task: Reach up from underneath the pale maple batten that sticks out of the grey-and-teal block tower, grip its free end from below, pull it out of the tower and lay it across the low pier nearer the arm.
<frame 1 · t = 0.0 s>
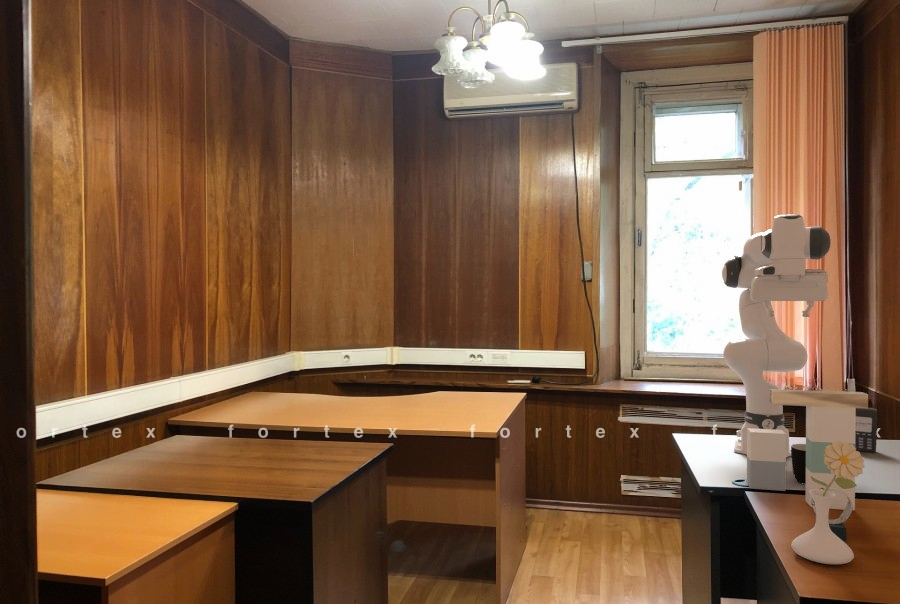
hand: (788, 316, 188), 48 cm above the table, tool pointing down, fingers open, 8 cm apart
watch: (831, 536, 147), on the table
batten: (817, 405, 167), point 26 cm above the table, touching tower
flower in vase: (826, 559, 134), on the table
tower: (829, 505, 167), on the table
mug: (805, 481, 189), on the table
card reader: (860, 451, 222), on the table
pier: (765, 487, 183), on the table
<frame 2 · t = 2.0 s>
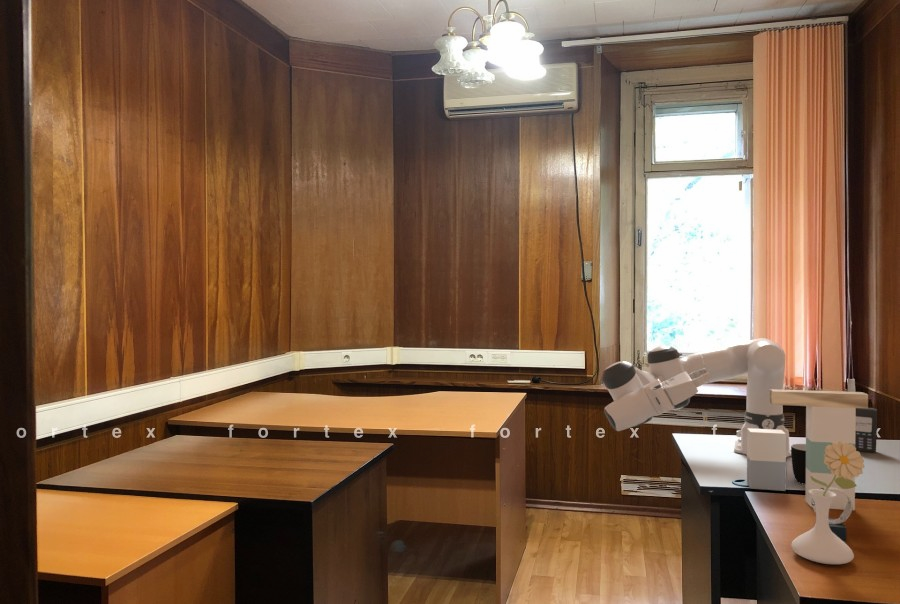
hand: (708, 373, 174), 34 cm above the table, tool pointing upward, fingers open, 8 cm apart
nothing on the table moved.
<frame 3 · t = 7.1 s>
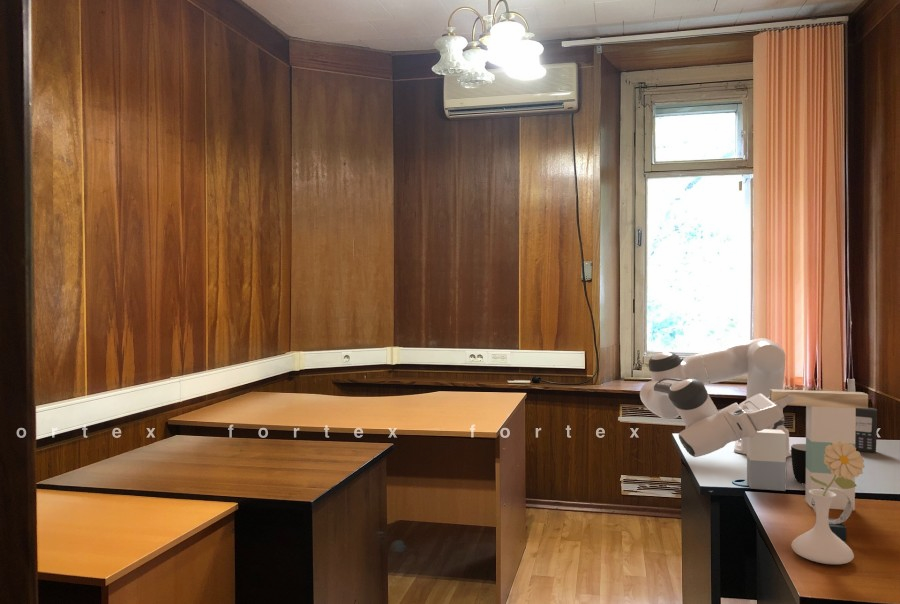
hand: (789, 395, 169), 28 cm above the table, tool pointing upward, fingers closed on batten, 3 cm apart
batten: (817, 405, 167), point 26 cm above the table, touching gripper, tower
everything else where it was.
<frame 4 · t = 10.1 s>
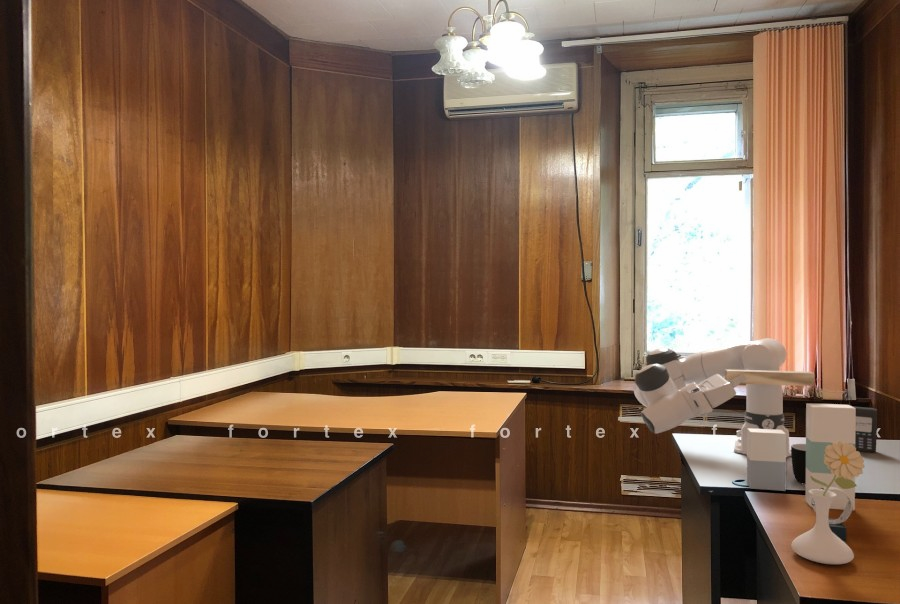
hand: (742, 375, 180), 32 cm above the table, tool pointing upward, fingers closed on batten, 3 cm apart
batten: (768, 383, 179), point 30 cm above the table, touching gripper
everything else where it was.
when the fingers open (19 cm above the table, at t = 13.3 s): batten stays where it is, resting on pier.
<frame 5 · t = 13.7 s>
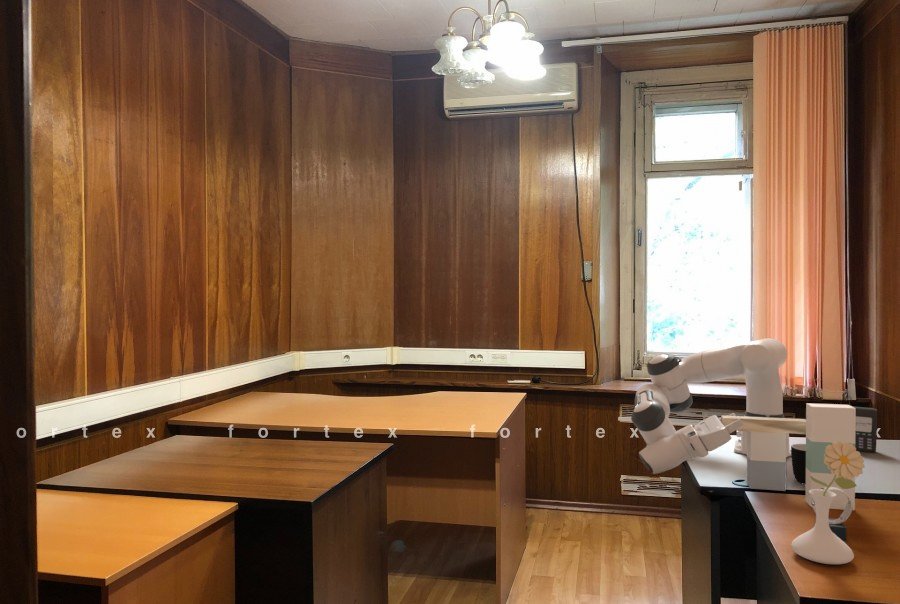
hand: (738, 418, 184), 19 cm above the table, tool pointing upward, fingers open, 7 cm apart
batten: (763, 430, 182), point 16 cm above the table, touching pier
everything else where it was.
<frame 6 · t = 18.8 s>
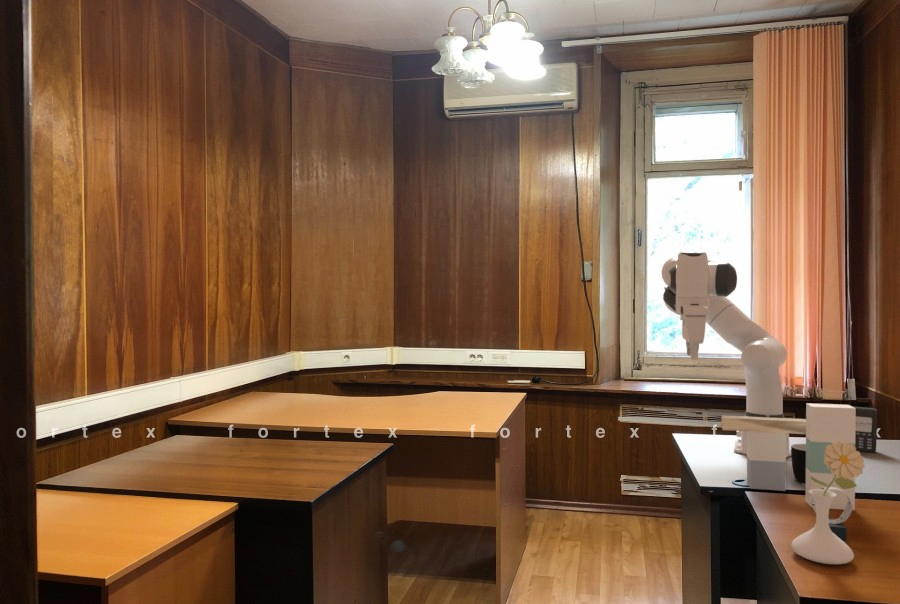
hand: (692, 357, 181), 37 cm above the table, tool pointing down, fingers open, 8 cm apart
nothing on the table moved.
at the end: batten inside the target area on the pier (0.6 cm from its centre), point 16.0 cm above the pier's base; the gripper is holding nothing; batten touching pier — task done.
